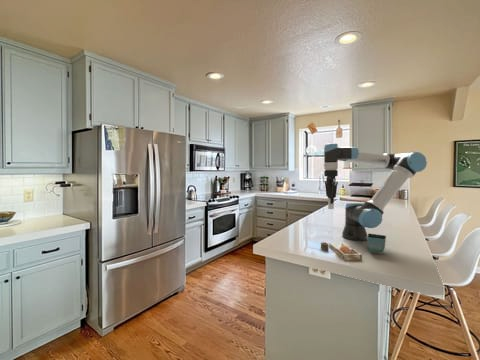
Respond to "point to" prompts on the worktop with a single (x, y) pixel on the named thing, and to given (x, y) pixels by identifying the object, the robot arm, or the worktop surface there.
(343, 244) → the runway
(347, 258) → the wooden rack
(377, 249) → the flower pot
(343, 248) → the ball
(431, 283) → the worktop surface
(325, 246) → the wooden square sleeve
